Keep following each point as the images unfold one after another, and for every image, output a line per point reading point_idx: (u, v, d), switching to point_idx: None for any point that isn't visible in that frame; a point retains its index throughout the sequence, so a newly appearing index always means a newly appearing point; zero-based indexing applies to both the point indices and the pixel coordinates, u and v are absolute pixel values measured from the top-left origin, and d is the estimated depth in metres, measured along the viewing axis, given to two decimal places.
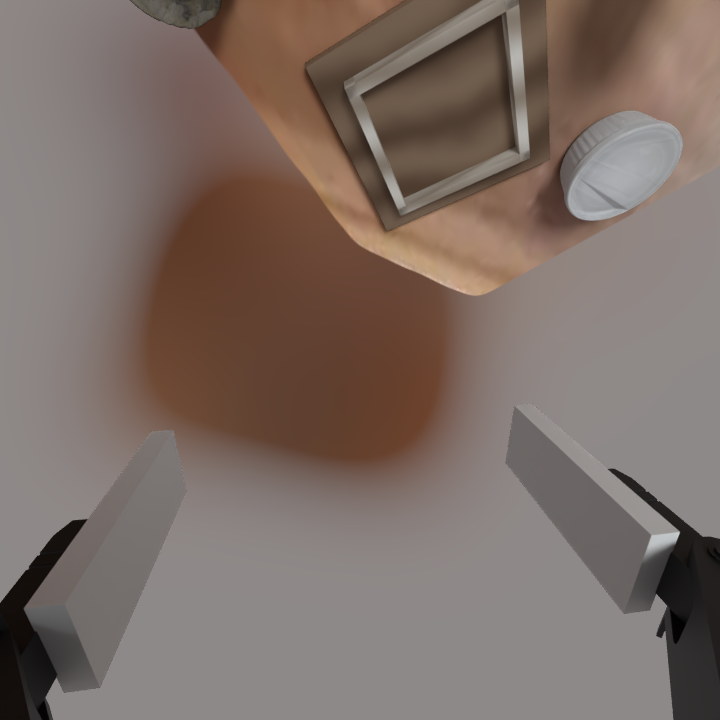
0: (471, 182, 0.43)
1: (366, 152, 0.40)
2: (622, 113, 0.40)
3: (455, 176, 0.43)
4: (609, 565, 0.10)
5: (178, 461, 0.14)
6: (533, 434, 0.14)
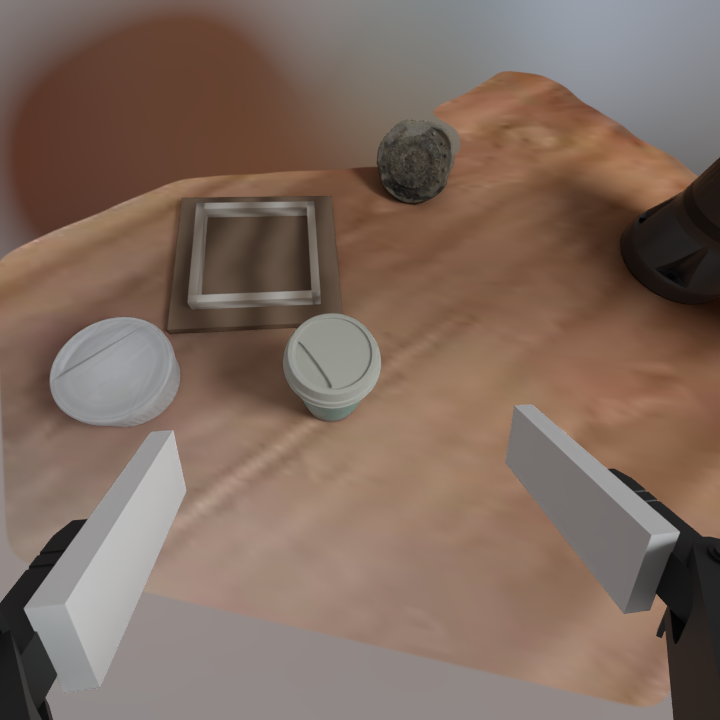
0: (193, 256, 0.45)
1: None
2: (177, 388, 0.40)
3: (203, 253, 0.47)
4: (609, 565, 0.10)
5: (178, 461, 0.14)
6: (533, 434, 0.14)
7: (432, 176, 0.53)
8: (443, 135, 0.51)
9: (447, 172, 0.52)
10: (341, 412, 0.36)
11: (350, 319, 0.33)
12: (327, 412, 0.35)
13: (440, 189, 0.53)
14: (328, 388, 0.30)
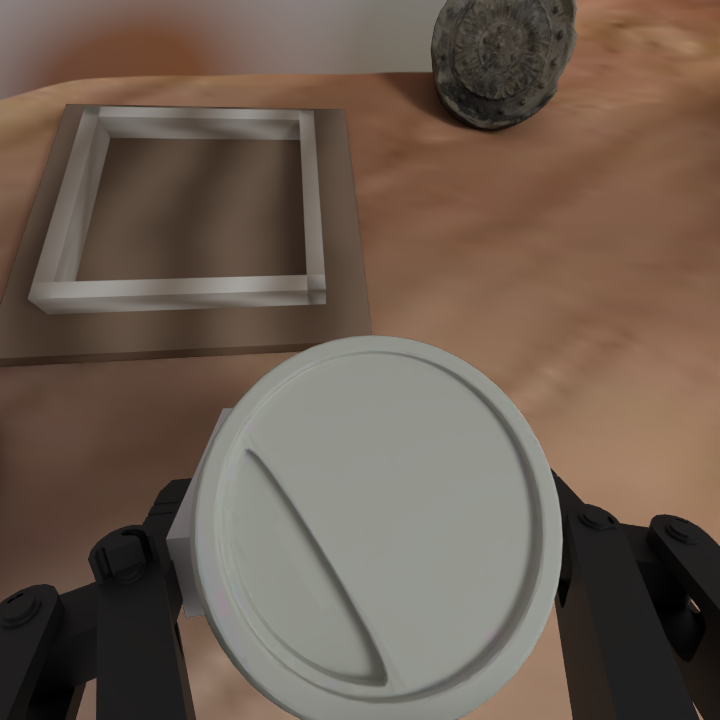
0: (59, 203, 0.22)
1: None
2: None
3: (90, 201, 0.23)
4: None
5: None
6: None
7: (532, 76, 0.29)
8: None
9: (560, 68, 0.29)
10: None
11: (441, 358, 0.09)
12: None
13: (544, 101, 0.29)
14: (374, 684, 0.07)
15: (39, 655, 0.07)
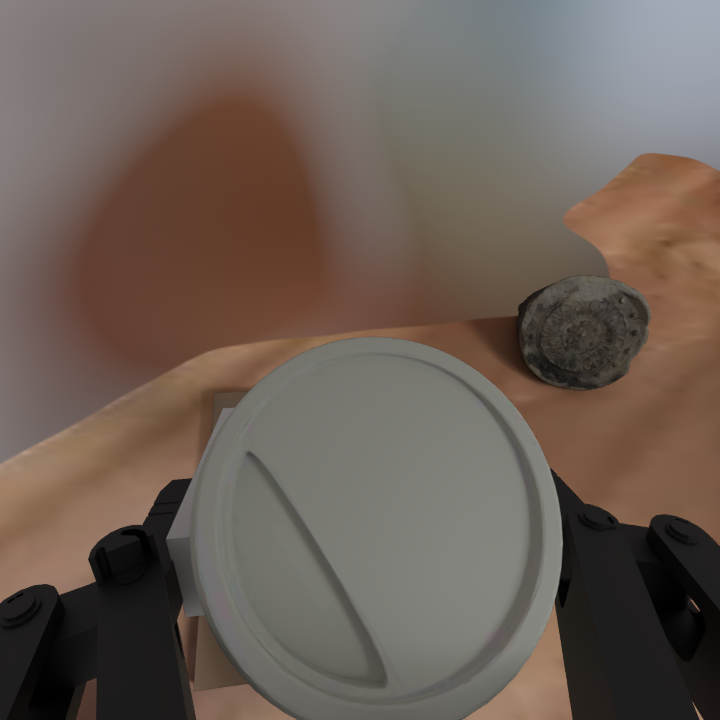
0: None
1: None
2: None
3: None
4: None
5: None
6: None
7: (607, 358, 0.34)
8: (638, 305, 0.32)
9: (632, 355, 0.33)
10: None
11: (441, 359, 0.09)
12: None
13: (617, 378, 0.34)
14: (374, 687, 0.07)
15: (39, 655, 0.07)
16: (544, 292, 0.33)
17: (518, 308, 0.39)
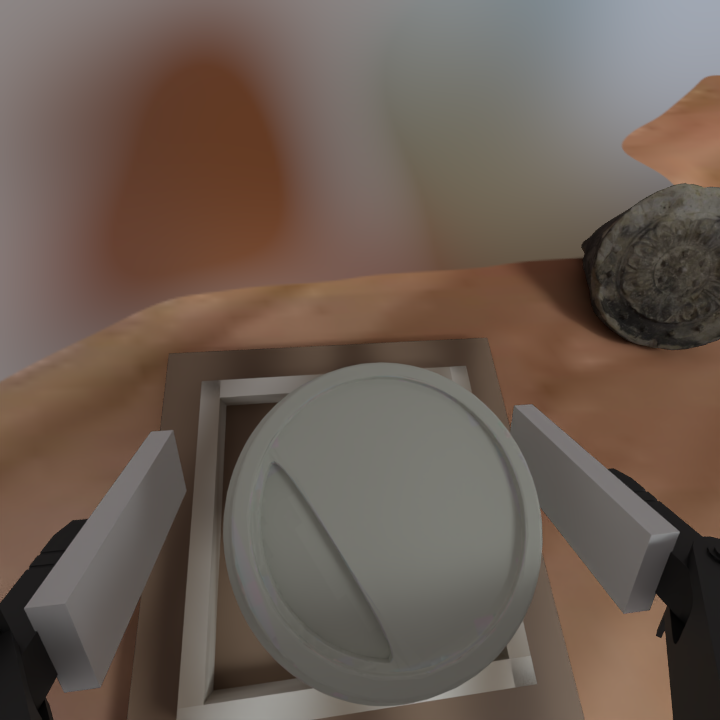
0: (192, 556, 0.17)
1: None
2: None
3: (219, 523, 0.19)
4: (609, 565, 0.10)
5: (178, 461, 0.14)
6: (533, 434, 0.14)
7: (716, 304, 0.25)
8: None
9: None
10: None
11: (440, 383, 0.10)
12: None
13: None
14: (381, 662, 0.08)
15: None
16: (632, 210, 0.24)
17: (582, 246, 0.29)
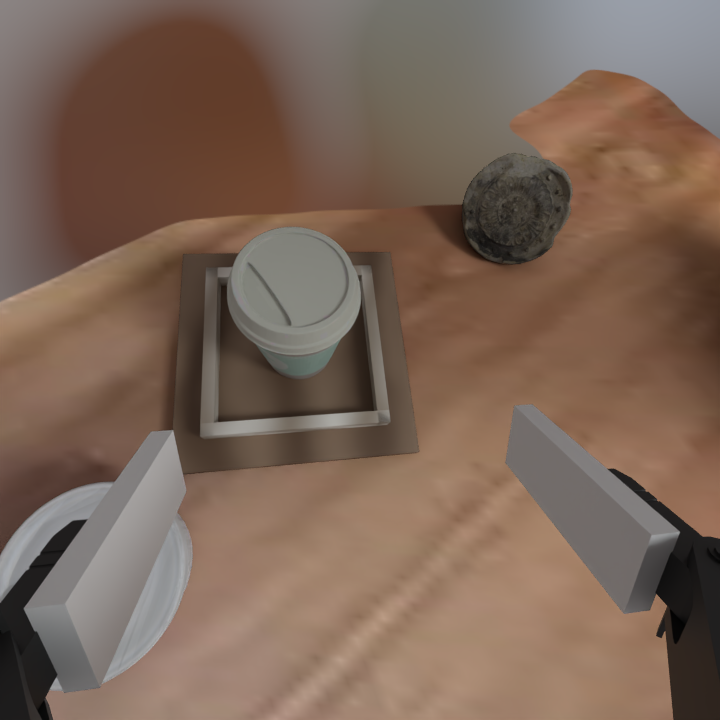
0: (205, 357, 0.31)
1: None
2: (189, 576, 0.27)
3: (218, 346, 0.33)
4: (609, 565, 0.10)
5: (178, 461, 0.14)
6: (533, 434, 0.14)
7: (535, 233, 0.39)
8: (562, 181, 0.37)
9: (556, 231, 0.39)
10: (308, 364, 0.28)
11: (320, 236, 0.24)
12: (289, 363, 0.27)
13: (542, 252, 0.39)
14: (287, 326, 0.22)
15: None
16: (484, 169, 0.38)
17: None
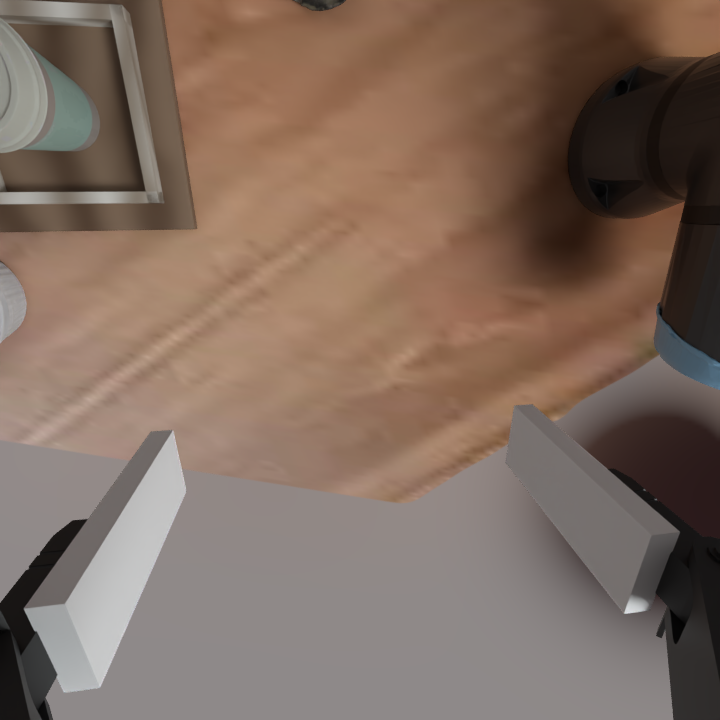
0: None
1: None
2: (24, 304, 0.40)
3: None
4: (609, 565, 0.10)
5: (178, 461, 0.14)
6: (533, 434, 0.14)
7: None
8: None
9: None
10: (44, 149, 0.31)
11: None
12: None
13: None
14: None
15: None
16: None
17: None
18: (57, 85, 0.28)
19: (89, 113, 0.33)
